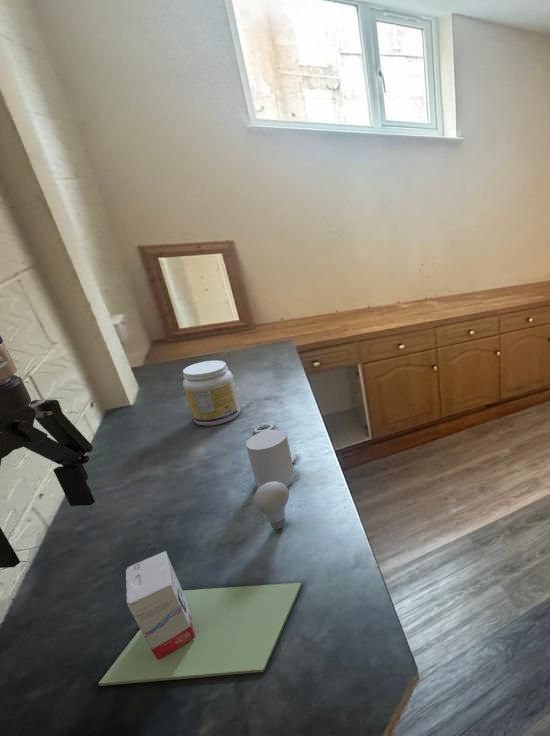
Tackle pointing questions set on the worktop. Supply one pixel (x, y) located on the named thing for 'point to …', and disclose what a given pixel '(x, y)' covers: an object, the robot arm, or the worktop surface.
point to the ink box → (159, 604)
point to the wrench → (257, 430)
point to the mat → (214, 636)
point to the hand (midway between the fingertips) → (47, 531)
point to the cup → (270, 457)
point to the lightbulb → (272, 502)
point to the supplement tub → (211, 393)
